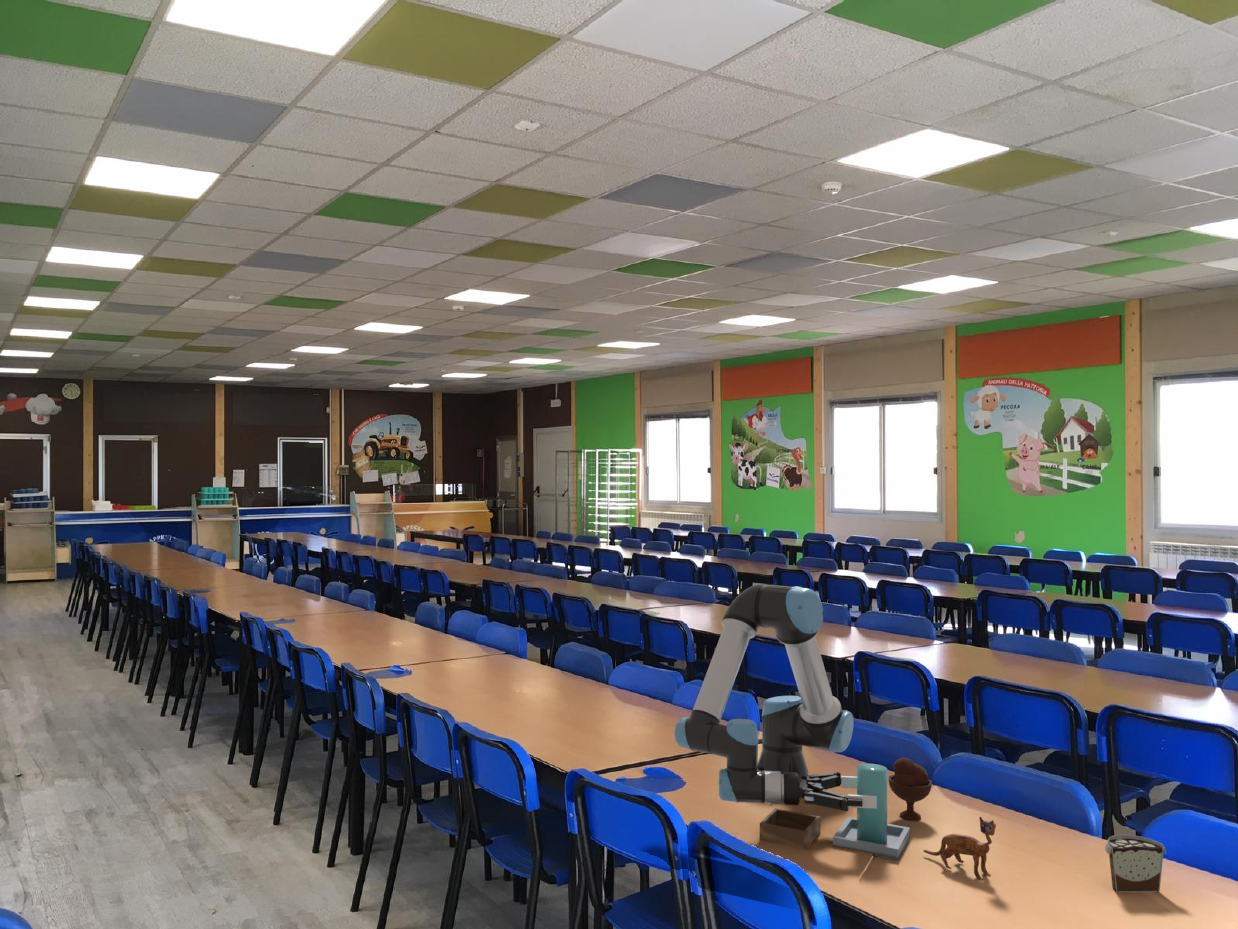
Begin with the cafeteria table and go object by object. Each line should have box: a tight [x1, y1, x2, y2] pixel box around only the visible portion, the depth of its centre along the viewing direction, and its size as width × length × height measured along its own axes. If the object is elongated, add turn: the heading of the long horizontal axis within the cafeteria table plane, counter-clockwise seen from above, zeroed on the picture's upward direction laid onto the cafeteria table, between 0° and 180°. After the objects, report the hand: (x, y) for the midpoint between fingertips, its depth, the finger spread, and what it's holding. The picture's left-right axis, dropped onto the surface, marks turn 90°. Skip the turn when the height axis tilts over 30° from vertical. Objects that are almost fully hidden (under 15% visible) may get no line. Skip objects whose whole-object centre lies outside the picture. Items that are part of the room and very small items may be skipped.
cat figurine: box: [923, 816, 997, 881], centre depth 205 cm, size 18×6×13 cm, turn 40°
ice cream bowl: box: [888, 757, 933, 822], centre depth 236 cm, size 11×11×15 cm
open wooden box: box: [759, 808, 821, 850], centre depth 221 cm, size 12×12×4 cm
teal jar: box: [856, 763, 888, 844], centre depth 219 cm, size 7×7×17 cm
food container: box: [1104, 834, 1167, 894], centre depth 196 cm, size 12×6×10 cm, turn 92°
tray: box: [832, 816, 911, 861], centre depth 219 cm, size 15×15×2 cm
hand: (872, 792), depth 219 cm, fingers open, 13 cm apart
